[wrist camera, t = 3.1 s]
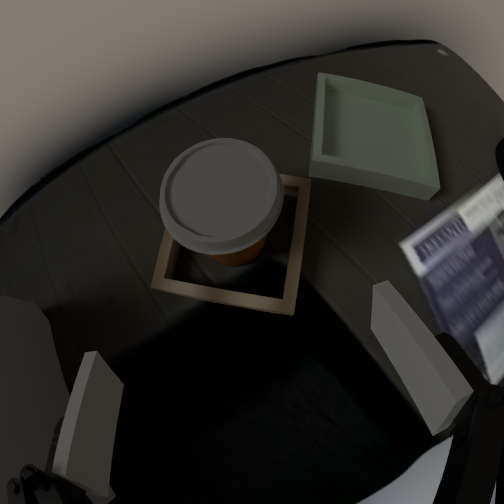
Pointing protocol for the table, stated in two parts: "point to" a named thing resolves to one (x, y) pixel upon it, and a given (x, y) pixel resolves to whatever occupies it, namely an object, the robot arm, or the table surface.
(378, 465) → the table surface
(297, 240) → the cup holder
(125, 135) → the table surface
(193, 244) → the disposable coffee cup
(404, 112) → the tray
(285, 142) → the table surface
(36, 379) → the game console
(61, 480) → the robot arm
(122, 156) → the table surface
